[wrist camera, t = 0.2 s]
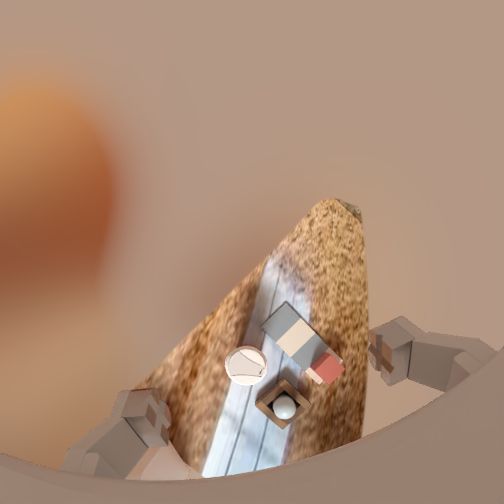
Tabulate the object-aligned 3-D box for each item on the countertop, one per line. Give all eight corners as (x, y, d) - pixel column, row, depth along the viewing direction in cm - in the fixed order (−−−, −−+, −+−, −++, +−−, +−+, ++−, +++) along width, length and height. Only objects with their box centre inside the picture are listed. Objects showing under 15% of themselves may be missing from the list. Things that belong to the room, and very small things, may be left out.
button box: (308, 400, 57) (311, 404, 54) (280, 425, 55) (282, 429, 52) (283, 377, 58) (284, 379, 55) (255, 401, 57) (255, 405, 54)
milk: (153, 478, 50) (118, 529, 25) (132, 446, 53) (85, 490, 27) (190, 471, 52) (164, 529, 26) (168, 438, 54) (129, 488, 29)
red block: (338, 365, 58) (345, 368, 53) (323, 380, 57) (329, 385, 53) (325, 351, 59) (330, 354, 54) (309, 367, 58) (314, 370, 53)
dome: (297, 403, 55) (302, 411, 49) (282, 416, 55) (285, 426, 48) (283, 390, 56) (287, 398, 50) (268, 403, 55) (269, 412, 49)
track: (342, 360, 59) (342, 360, 58) (318, 384, 58) (319, 384, 57) (285, 302, 63) (285, 302, 62) (260, 326, 61) (260, 326, 61)
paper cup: (268, 345, 60) (273, 353, 47) (258, 376, 58) (260, 391, 45) (235, 335, 61) (231, 341, 47) (226, 366, 59) (219, 379, 45)
